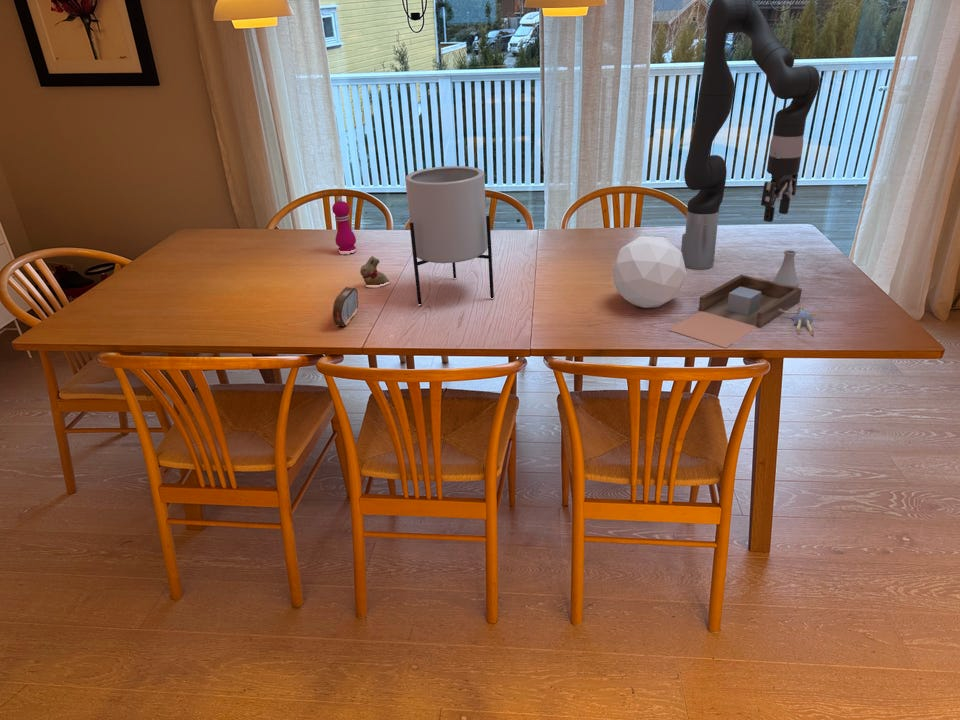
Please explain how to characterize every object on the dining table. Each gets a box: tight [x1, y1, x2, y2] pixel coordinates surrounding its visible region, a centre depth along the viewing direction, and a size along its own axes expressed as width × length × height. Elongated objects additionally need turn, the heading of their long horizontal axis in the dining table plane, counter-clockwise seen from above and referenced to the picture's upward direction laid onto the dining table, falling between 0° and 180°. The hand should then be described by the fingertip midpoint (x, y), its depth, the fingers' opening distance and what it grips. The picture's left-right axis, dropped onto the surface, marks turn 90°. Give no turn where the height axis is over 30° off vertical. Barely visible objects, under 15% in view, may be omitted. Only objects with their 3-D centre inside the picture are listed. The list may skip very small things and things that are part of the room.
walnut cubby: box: [698, 274, 803, 328], centre depth 185 cm, size 17×22×4 cm
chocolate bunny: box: [359, 255, 390, 285], centre depth 215 cm, size 6×8×10 cm
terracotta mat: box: [668, 311, 758, 349], centre depth 175 cm, size 16×16×1 cm
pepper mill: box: [332, 196, 357, 251], centre depth 244 cm, size 7×7×20 cm
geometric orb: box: [612, 235, 688, 309], centre depth 187 cm, size 19×20×20 cm
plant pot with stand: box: [404, 165, 495, 305], centre depth 198 cm, size 24×24×36 cm
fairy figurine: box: [778, 305, 826, 336], centre depth 174 cm, size 12×5×12 cm
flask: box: [772, 249, 800, 288], centre depth 196 cm, size 7×7×10 cm
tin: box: [332, 286, 359, 326], centre depth 192 cm, size 15×3×8 cm, turn 171°
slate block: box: [727, 287, 762, 316], centre depth 183 cm, size 6×6×5 cm
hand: (775, 217), depth 179 cm, fingers open, 8 cm apart
